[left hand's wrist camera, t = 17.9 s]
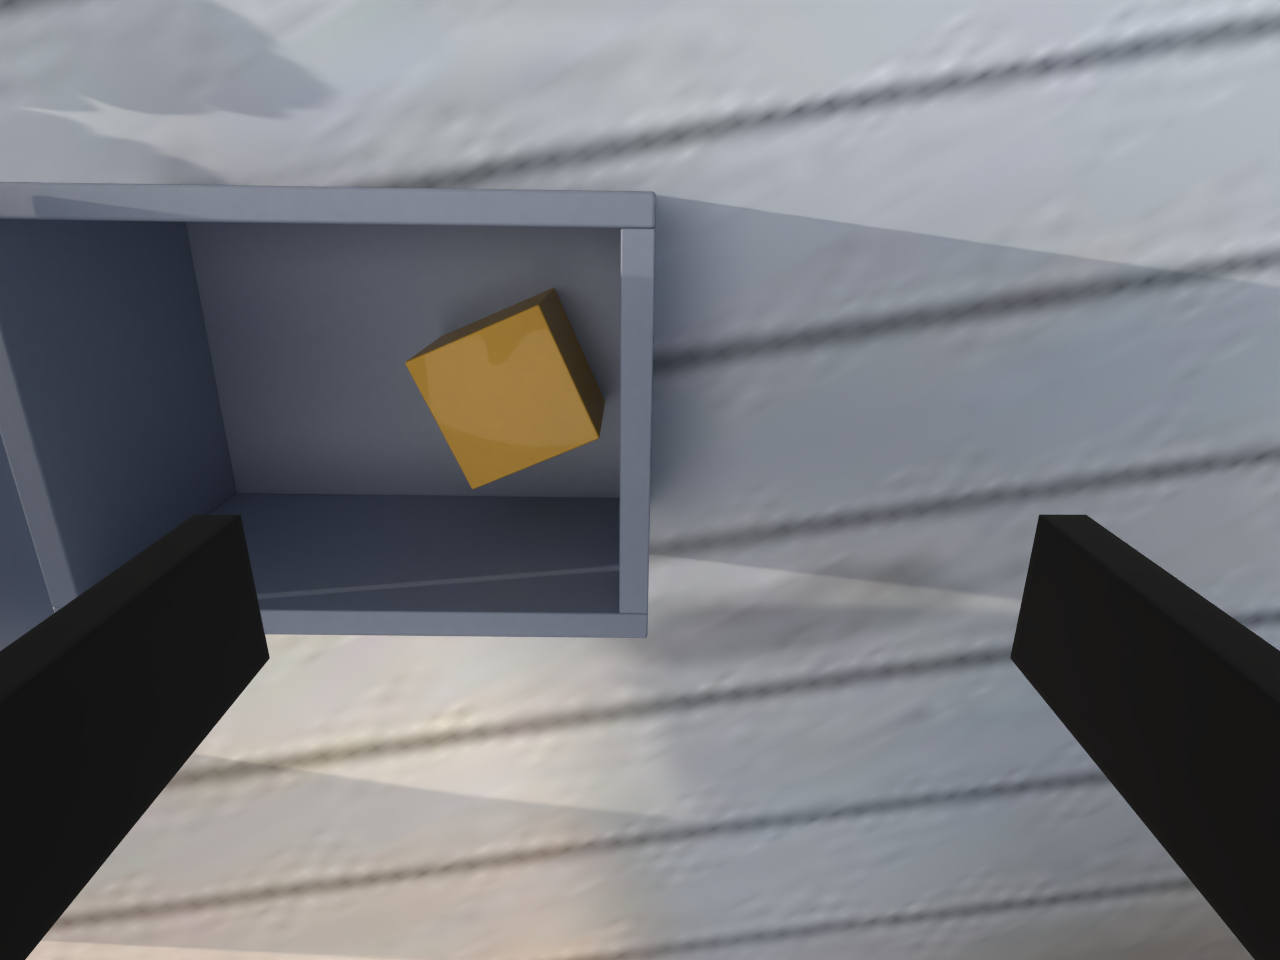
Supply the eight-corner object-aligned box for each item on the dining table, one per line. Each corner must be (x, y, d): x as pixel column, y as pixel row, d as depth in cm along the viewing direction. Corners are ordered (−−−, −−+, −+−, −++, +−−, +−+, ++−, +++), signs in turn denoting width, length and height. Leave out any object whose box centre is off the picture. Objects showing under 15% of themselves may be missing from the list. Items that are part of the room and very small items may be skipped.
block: (554, 287, 27) (538, 304, 23) (605, 402, 29) (600, 438, 24) (440, 336, 28) (403, 362, 23) (496, 446, 29) (472, 490, 25)
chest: (649, 193, 27) (656, 191, 18) (644, 508, 31) (647, 638, 22) (169, 186, 27) (-77, 180, 18) (230, 503, 31) (59, 632, 22)
